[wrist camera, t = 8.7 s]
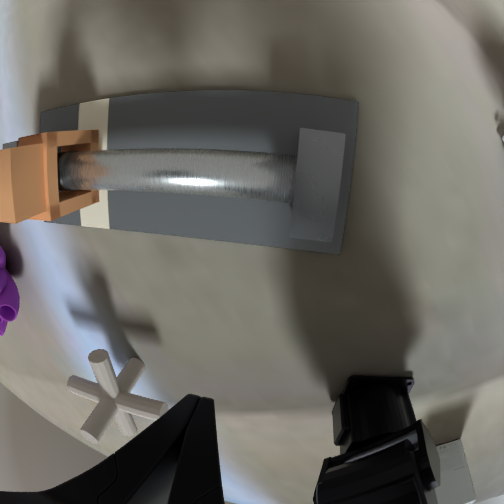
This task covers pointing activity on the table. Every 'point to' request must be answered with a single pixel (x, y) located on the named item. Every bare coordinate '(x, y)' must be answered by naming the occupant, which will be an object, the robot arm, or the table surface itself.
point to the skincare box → (454, 475)
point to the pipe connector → (113, 397)
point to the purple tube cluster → (7, 295)
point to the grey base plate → (208, 137)
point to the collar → (42, 177)
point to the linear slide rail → (223, 176)
